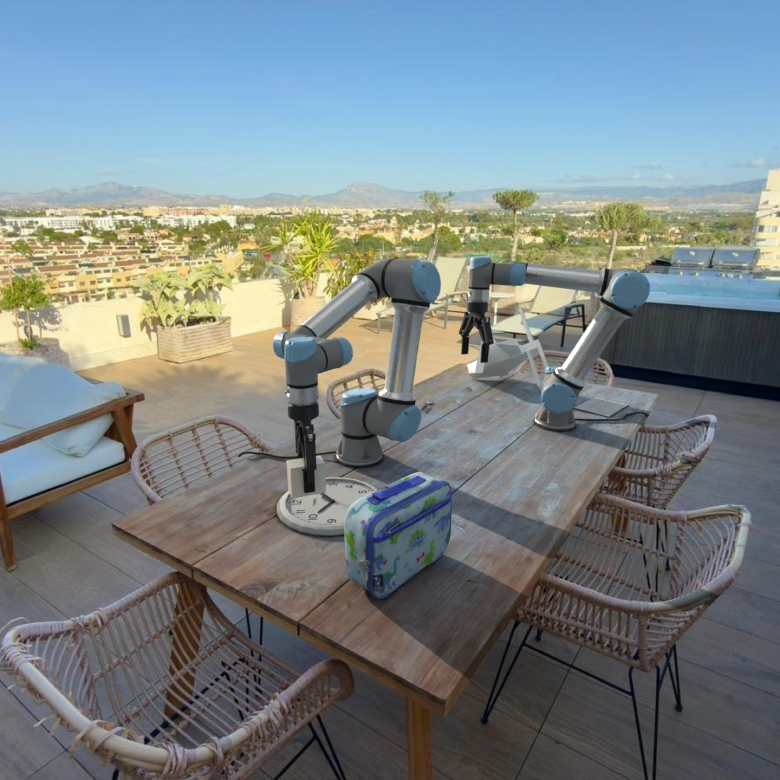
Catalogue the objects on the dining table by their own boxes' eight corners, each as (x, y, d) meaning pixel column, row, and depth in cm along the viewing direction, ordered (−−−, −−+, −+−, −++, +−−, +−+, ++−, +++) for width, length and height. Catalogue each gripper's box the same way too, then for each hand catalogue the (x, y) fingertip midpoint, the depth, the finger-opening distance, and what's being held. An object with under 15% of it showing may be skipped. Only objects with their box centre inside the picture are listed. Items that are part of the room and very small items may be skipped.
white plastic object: (488, 421, 263) (468, 398, 238) (469, 347, 285) (449, 320, 260) (560, 397, 251) (547, 370, 226) (534, 322, 273) (519, 290, 248)
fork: (417, 411, 216) (418, 406, 216) (428, 400, 231) (428, 395, 230) (423, 412, 215) (424, 407, 215) (434, 400, 230) (434, 396, 229)
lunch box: (372, 611, 103) (373, 518, 97) (338, 585, 111) (336, 497, 104) (455, 557, 121) (460, 475, 115) (420, 537, 128) (424, 459, 122)
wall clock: (392, 527, 129) (268, 531, 127) (391, 533, 130) (269, 537, 127) (383, 473, 158) (282, 475, 155) (383, 478, 158) (282, 480, 156)
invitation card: (608, 416, 214) (573, 407, 224) (608, 416, 214) (573, 408, 224) (628, 404, 229) (594, 396, 238) (628, 405, 229) (594, 397, 238)
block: (288, 489, 135) (286, 460, 133) (321, 483, 139) (320, 455, 136) (292, 498, 131) (290, 468, 128) (326, 492, 134) (325, 463, 132)
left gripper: (280, 392, 134) (285, 473, 141) (295, 415, 118) (300, 506, 125) (309, 388, 137) (312, 469, 144) (327, 411, 121) (330, 500, 128)
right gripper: (451, 296, 198) (448, 351, 204) (488, 306, 176) (483, 367, 182) (468, 296, 200) (465, 350, 207) (506, 305, 178) (501, 365, 185)
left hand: (307, 486), depth 134 cm, fingers closed on block, 5 cm apart
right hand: (474, 358), depth 194 cm, fingers open, 13 cm apart
